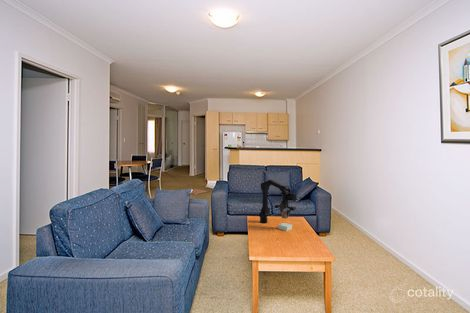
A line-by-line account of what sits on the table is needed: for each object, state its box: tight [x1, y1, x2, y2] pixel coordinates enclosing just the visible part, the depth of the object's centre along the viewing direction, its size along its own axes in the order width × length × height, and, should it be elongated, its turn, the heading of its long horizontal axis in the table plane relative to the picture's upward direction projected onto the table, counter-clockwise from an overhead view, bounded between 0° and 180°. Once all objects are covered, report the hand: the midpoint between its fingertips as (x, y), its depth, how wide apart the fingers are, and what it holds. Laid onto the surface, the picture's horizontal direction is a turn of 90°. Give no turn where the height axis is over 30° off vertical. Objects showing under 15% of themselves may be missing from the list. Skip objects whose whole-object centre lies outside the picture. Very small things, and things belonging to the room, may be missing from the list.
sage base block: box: [277, 222, 293, 232], centre depth 236 cm, size 9×9×4 cm
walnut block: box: [281, 210, 289, 220], centre depth 235 cm, size 4×4×6 cm
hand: (285, 216), depth 235 cm, fingers closed on walnut block, 4 cm apart
